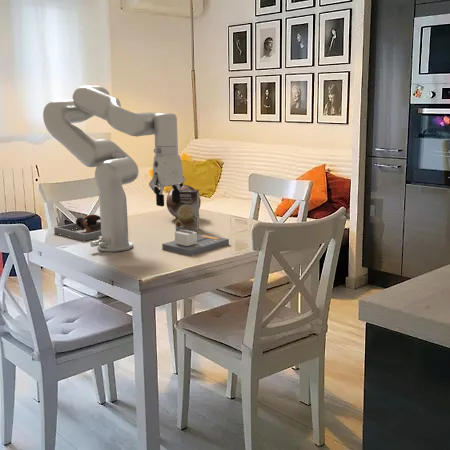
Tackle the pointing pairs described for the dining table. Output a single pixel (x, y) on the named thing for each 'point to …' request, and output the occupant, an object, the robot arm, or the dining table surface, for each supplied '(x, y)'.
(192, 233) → the fader knob
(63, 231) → the grey shallow tray
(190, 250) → the board
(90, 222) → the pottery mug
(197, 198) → the coffee box
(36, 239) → the dining table surface
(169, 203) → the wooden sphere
